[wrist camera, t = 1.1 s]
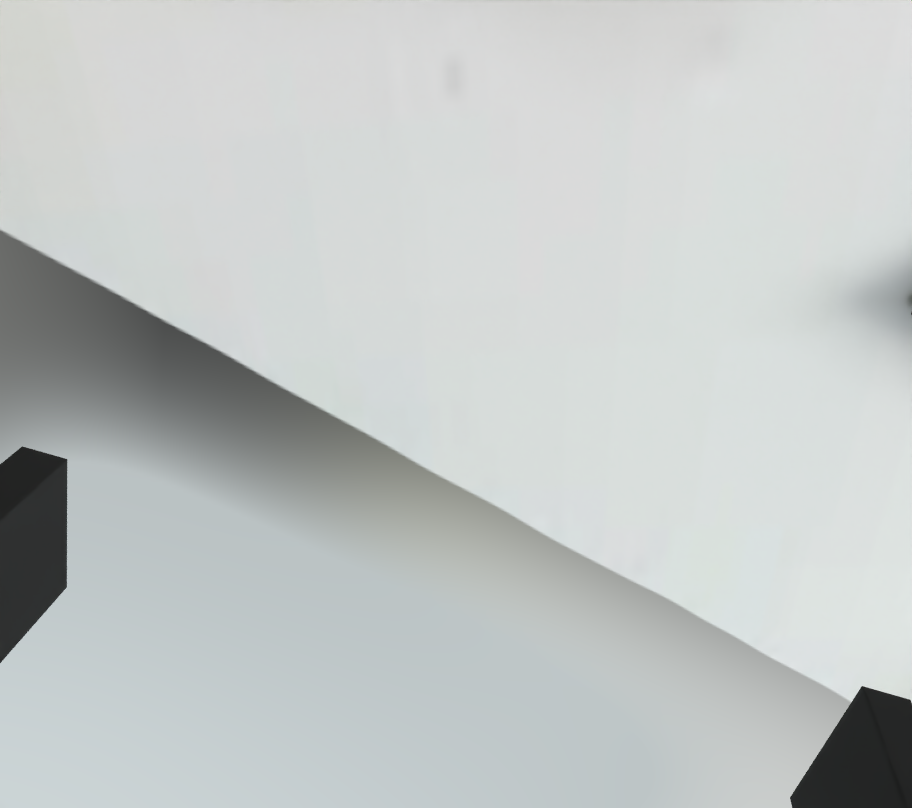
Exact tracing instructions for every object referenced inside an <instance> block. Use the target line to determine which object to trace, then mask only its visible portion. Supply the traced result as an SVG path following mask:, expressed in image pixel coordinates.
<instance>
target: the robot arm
mask: <svg viewBox="0 0 912 808" xmlns="http://www.w3.org/2000/svg"><path fill="white" fill-rule="evenodd" d="M66 587H67V459H64V458H61V457H57V456H54V455H50V454H47V453H43V452H39V451H36V450H33V449H29V448H26V447H21V448H20V449H19V450H18V451H16V452H15V453H14V454H13V455H12V456H10V457H9V458H8V459H6V460H5V461H4V462H3V463H1V464H0V663H1V662H2V660H3V659H4V658H5V657H6V656H7V654H9V652H10V651H11V650H12V649H13V648H14V647H15V645H16V644H17V643H18V642H19V641H20V640H21V639H22V638H23V636H24V635H25V634H26V633H27V631H29V629H30V628H31V627H32V626H33V625H34V624H35V623H36V622H37V620H38V619H39V618H40V617H41V616H42V615H43V613H44V612H45V611H46V610H47V609H48V608H49V607H50V606H51V605H52V603H53V602H54V601H55V600H56V599H57V598H58V596H59V595H60V594H61V593H62V592H63V591H64V590H65V589H66ZM790 799H791V804H792V808H912V703H911V701H910V700H909V699H905V698H902V697H898V696H895V695H891V694H888V693H884V692H881V691H877V690H874V689H870V688H867V687H863V686H862V687H861V689H860V690H859V692H858V693H857V695H856V696H855V698H854V699H853V701H852V703H851V704H850V706H849V707H848V709H847V710H846V712H845V713H844V715H843V717H842V718H841V720H840V721H839V723H838V724H837V726H836V727H835V729H834V730H833V732H832V734H831V735H830V737H829V738H828V740H827V741H826V743H825V745H824V746H823V748H822V749H821V751H820V752H819V754H818V755H817V757H816V759H815V760H814V761H813V763H812V765H811V766H810V768H809V770H808V771H807V772H806V774H805V775H804V777H803V779H802V780H801V782H800V783H799V785H798V786H797V788H796V789H795V791H794V792H793V794H792V796H791V797H790Z"/></svg>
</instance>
